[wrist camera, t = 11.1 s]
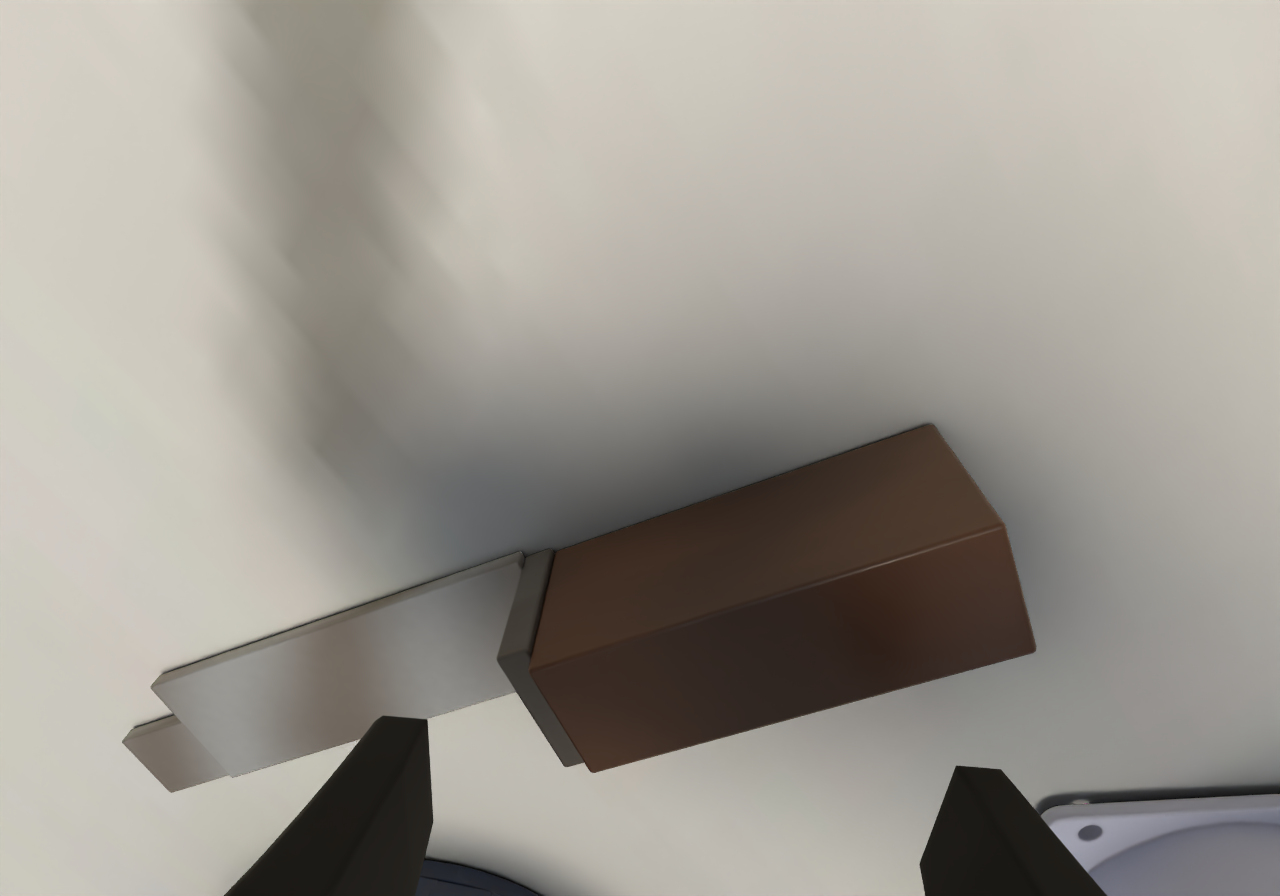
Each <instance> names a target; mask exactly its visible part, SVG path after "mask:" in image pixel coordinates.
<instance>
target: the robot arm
mask: <svg viewBox="0 0 1280 896" xmlns="http://www.w3.org/2000/svg"><path fill="white" fill-rule="evenodd" d="M432 825H433V809H432V792H431V774H430V757H429V739H428V721H427V719H418V718H407V717H395V716H384V715H383V716H381V717H380V718H378V719H377V720H376V721H375V722H374V723H373V724H372V725H371V727H370V728H369V729H368V731H367V732H366V733H365V735H364V736H363V737H362V738H361V740H360V741H359V742H358V744H357V745H356V746H355V747H354V749H353V750H352V751H351V752H350V754H349V755H348V756H347V757H346V759H345V760H344V761H343V762H342V764H341V765H340V766H339V767H338V768H337V770H336V771H335V772H334V773H333V775H332V776H331V777H330V778H329V779H328V781H327V782H326V783H325V784H324V785H323V787H322V788H321V789H320V790H319V791H318V792H317V794H316V795H315V796H314V797H313V798H312V800H311V801H310V802H309V803H308V804H307V805H306V807H305V808H304V809H303V810H302V811H301V812H300V813H299V815H298V816H297V817H296V818H295V819H294V820H293V821H292V822H291V824H290V825H289V826H288V827H287V828H286V829H285V830H284V831H283V833H282V834H281V835H280V836H279V837H278V838H277V839H276V840H275V842H274V843H273V844H272V845H271V846H270V847H269V848H268V849H267V851H266V852H265V853H264V854H263V855H262V856H261V857H260V858H259V859H258V860H257V862H256V863H255V864H254V865H253V866H252V867H251V868H250V869H249V870H248V871H247V872H246V873H245V874H244V875H243V876H242V877H241V878H240V879H239V880H238V881H237V883H236V884H235V885H234V886H233V887H232V888H231V889H230V890H229V891H228V892H227V893H226V894H225V895H224V896H415V893H416V889H417V886H418V882H419V878H420V874H421V870H422V866H423V862H424V858H425V854H426V849H427V845H428V841H429V837H430V833H431V829H432ZM920 869H921V874H922V880H923V885H924V891H925V896H1280V794H1265V795H1246V796H1228V797H1209V798H1190V799H1171V800H1152V801H1133V802H1114V803H1095V804H1077V805H1061V806H1055V807H1052V808H1050V809H1048V810H1046V811H1045V812H1044V813H1043V814H1042V815H1041V816H1040V815H1039V814H1038V813H1037V812H1036V810H1035V809H1034V808H1033V807H1032V806H1031V804H1030V803H1029V802H1028V801H1027V800H1026V798H1025V797H1024V796H1023V795H1022V794H1021V792H1020V791H1019V790H1018V789H1017V788H1016V787H1015V785H1014V784H1013V783H1012V782H1011V781H1010V779H1009V778H1008V777H1007V776H1006V775H1005V774H1004V772H1003V771H1002V770H1001V769H990V768H978V767H967V766H956V768H955V770H954V773H953V776H952V778H951V781H950V784H949V786H948V789H947V792H946V794H945V797H944V800H943V802H942V805H941V808H940V811H939V813H938V816H937V819H936V821H935V824H934V827H933V829H932V832H931V835H930V837H929V840H928V843H927V845H926V848H925V851H924V853H923V856H922V859H921V862H920Z"/></svg>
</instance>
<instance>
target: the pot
mask: <svg viewBox="0 0 1280 896" xmlns="http://www.w3.org/2000/svg"><path fill="white" fill-rule="evenodd" d="M415 896H539V895H537V894H535V893H534V892H532V891H530V890H528V889H526V888H524V887H522V886H520V885H517V884H515V883H513V882H511V881H508V880H506V879H503V878H500V877H498V876H495V875H492V874H489V873H486V872H483V871H480V870H476V869H472V868H468V867H464V866H460V865H455V864H449V863H443V862H437V861H431V860H424V862H423V866H422V870H421V874H420V878H419V882H418V886H417V889H416V893H415Z"/></svg>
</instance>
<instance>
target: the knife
mask: <svg viewBox="0 0 1280 896" xmlns="http://www.w3.org/2000/svg"><path fill="white" fill-rule="evenodd" d="M1035 651H1036V643H1035V639H1034V635H1033V631H1032V627H1031V623H1030V619H1029V615H1028V612H1027V608H1026V604H1025V600H1024V596H1023V592H1022V588H1021V584H1020V580H1019V576H1018V572H1017V568H1016V564H1015V561H1014V557H1013V553H1012V549H1011V545H1010V541H1009V537H1008V533H1007V529H1006V525H1005V524H1004V522H1003V521H1002V519H1001V518H1000V517H999V515H998V514H997V512H996V511H995V510H994V508H993V507H992V505H991V504H990V503H989V501H988V500H987V498H986V497H985V496H984V494H983V493H982V491H981V490H980V489H979V487H978V486H977V484H976V483H975V482H974V480H973V479H972V477H971V476H970V475H969V473H968V472H967V470H966V469H965V468H964V466H963V465H962V463H961V462H960V461H959V459H958V458H957V456H956V455H955V454H954V452H953V451H952V449H951V448H950V447H949V445H948V444H947V442H946V441H945V440H944V438H943V437H942V435H941V434H940V433H939V431H938V430H937V428H936V427H935V426H934V425H933V424H929V425H926V426H923V427H920V428H917V429H914V430H911V431H908V432H906V433H903V434H900V435H897V436H894V437H891V438H888V439H885V440H882V441H879V442H876V443H873V444H870V445H867V446H864V447H861V448H859V449H856V450H853V451H850V452H847V453H844V454H841V455H838V456H835V457H832V458H829V459H826V460H823V461H820V462H817V463H814V464H812V465H809V466H806V467H803V468H800V469H797V470H794V471H791V472H788V473H785V474H782V475H779V476H776V477H773V478H770V479H768V480H765V481H762V482H759V483H756V484H753V485H750V486H747V487H744V488H741V489H738V490H735V491H732V492H729V493H726V494H723V495H721V496H718V497H715V498H712V499H709V500H706V501H703V502H700V503H697V504H694V505H691V506H688V507H685V508H682V509H679V510H676V511H674V512H671V513H668V514H665V515H662V516H659V517H656V518H653V519H650V520H647V521H644V522H641V523H638V524H635V525H632V526H629V527H627V528H624V529H621V530H618V531H615V532H612V533H609V534H606V535H603V536H600V537H597V538H594V539H591V540H588V541H585V542H582V543H580V544H577V545H574V546H571V547H568V548H565V549H562V550H559V551H557V552H556V553H555V554H554V552H553V550H552V549H547V550H544V551H541V552H538V553H535V554H532V555H530V556H527V557H526V558H525V557H524V556H523V554H522V552H517V553H514V554H511V555H508V556H505V557H502V558H499V559H496V560H494V561H491V562H488V563H485V564H482V565H479V566H476V567H473V568H470V569H467V570H464V571H462V572H459V573H456V574H453V575H450V576H447V577H444V578H441V579H438V580H435V581H433V582H430V583H427V584H424V585H421V586H418V587H415V588H412V589H409V590H406V591H403V592H401V593H398V594H395V595H392V596H389V597H386V598H383V599H380V600H377V601H374V602H372V603H369V604H366V605H363V606H360V607H357V608H354V609H351V610H348V611H345V612H342V613H340V614H337V615H334V616H331V617H328V618H325V619H322V620H319V621H316V622H313V623H310V624H308V625H305V626H302V627H299V628H296V629H293V630H290V631H287V632H284V633H281V634H279V635H276V636H273V637H270V638H267V639H264V640H261V641H258V642H255V643H252V644H249V645H247V646H244V647H241V648H238V649H235V650H232V651H229V652H226V653H223V654H220V655H218V656H215V657H212V658H209V659H206V660H203V661H200V662H197V663H194V664H191V665H188V666H186V667H183V668H180V669H177V670H174V671H171V672H168V673H165V674H162V675H160V676H159V677H158V678H157V679H156V681H155V682H154V683H153V684H152V685H151V689H152V690H153V691H154V693H155V694H156V695H157V696H158V697H159V698H160V699H161V700H162V701H163V702H164V704H165V705H166V706H167V707H168V708H169V709H170V710H171V711H172V712H173V714H174V716H171V717H168V718H165V719H162V720H159V721H156V722H153V723H150V724H147V725H143V726H140V727H137V728H134V729H132V730H131V731H130V732H129V733H128V735H127V736H126V737H125V738H124V740H123V741H122V743H123V744H124V745H125V746H126V747H127V748H128V749H129V750H130V751H131V752H132V753H133V754H134V755H135V756H136V757H137V759H138V760H139V761H140V762H141V763H142V764H143V765H144V766H145V767H146V768H147V769H148V770H149V771H150V772H151V773H152V774H153V775H154V776H155V777H156V778H157V779H158V780H159V781H160V782H161V783H162V784H163V785H164V787H165V788H166V789H167V790H168V791H169V792H171V793H172V792H175V791H179V790H182V789H185V788H189V787H192V786H195V785H198V784H202V783H205V782H208V781H212V780H215V779H218V778H221V777H225V776H228V775H230V776H231V777H232V778H233V777H237V776H240V775H243V774H247V773H250V772H253V771H256V770H260V769H263V768H266V767H270V766H273V765H276V764H280V763H283V762H286V761H289V760H293V759H296V758H299V757H303V756H306V755H309V754H313V753H316V752H319V751H322V750H326V749H329V748H332V747H336V746H339V745H342V744H345V743H349V742H352V741H355V740H359V739H361V738H362V737H363V736H364V735H365V733H366V732H367V731H368V729H369V728H370V727H371V725H372V724H373V723H374V722H375V721H376V720H377V719H378V718H380V717H381V716H383V715H384V716H395V717H407V718H418V719H428V718H431V717H435V716H438V715H441V714H444V713H448V712H451V711H454V710H458V709H461V708H464V707H468V706H471V705H474V704H477V703H481V702H484V701H487V700H491V699H494V698H497V697H500V696H504V695H507V694H510V693H514V692H517V694H518V695H519V697H520V698H521V700H522V701H523V703H524V705H525V706H526V708H527V709H528V711H529V712H530V714H531V715H532V717H533V719H534V720H535V722H536V723H537V725H538V726H539V728H540V729H541V731H542V733H543V734H544V736H545V737H546V739H547V740H548V742H549V743H550V745H551V747H552V748H553V750H554V751H555V753H556V754H557V756H558V757H559V759H560V761H561V762H562V764H563V765H564V766H565V767H569V766H573V765H577V764H580V763H584V762H585V764H586V766H587V767H588V769H589V770H590V772H592V773H596V772H599V771H603V770H606V769H610V768H614V767H617V766H621V765H625V764H628V763H632V762H636V761H639V760H643V759H647V758H650V757H654V756H658V755H661V754H665V753H669V752H672V751H676V750H680V749H683V748H687V747H691V746H694V745H698V744H702V743H705V742H709V741H713V740H716V739H720V738H724V737H727V736H731V735H735V734H738V733H742V732H746V731H749V730H753V729H757V728H760V727H764V726H768V725H771V724H775V723H779V722H782V721H786V720H790V719H793V718H797V717H801V716H804V715H808V714H812V713H815V712H819V711H823V710H826V709H830V708H834V707H837V706H841V705H844V704H848V703H852V702H855V701H859V700H863V699H866V698H870V697H874V696H877V695H881V694H885V693H888V692H892V691H896V690H899V689H903V688H907V687H910V686H914V685H918V684H921V683H925V682H929V681H932V680H936V679H940V678H943V677H947V676H951V675H954V674H958V673H962V672H965V671H969V670H973V669H976V668H980V667H984V666H987V665H991V664H995V663H998V662H1002V661H1006V660H1009V659H1013V658H1017V657H1020V656H1024V655H1028V654H1031V653H1034V652H1035Z"/></svg>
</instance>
